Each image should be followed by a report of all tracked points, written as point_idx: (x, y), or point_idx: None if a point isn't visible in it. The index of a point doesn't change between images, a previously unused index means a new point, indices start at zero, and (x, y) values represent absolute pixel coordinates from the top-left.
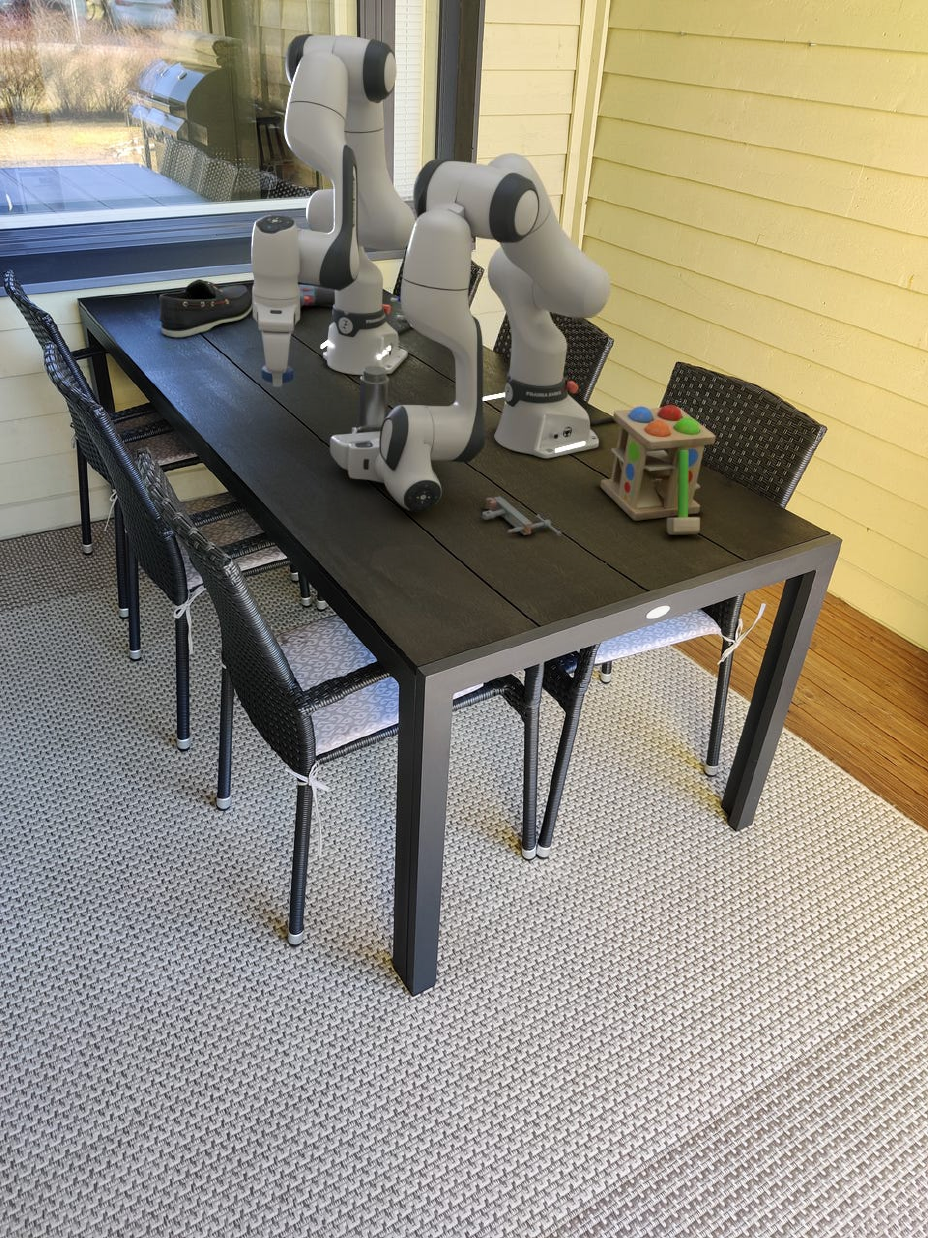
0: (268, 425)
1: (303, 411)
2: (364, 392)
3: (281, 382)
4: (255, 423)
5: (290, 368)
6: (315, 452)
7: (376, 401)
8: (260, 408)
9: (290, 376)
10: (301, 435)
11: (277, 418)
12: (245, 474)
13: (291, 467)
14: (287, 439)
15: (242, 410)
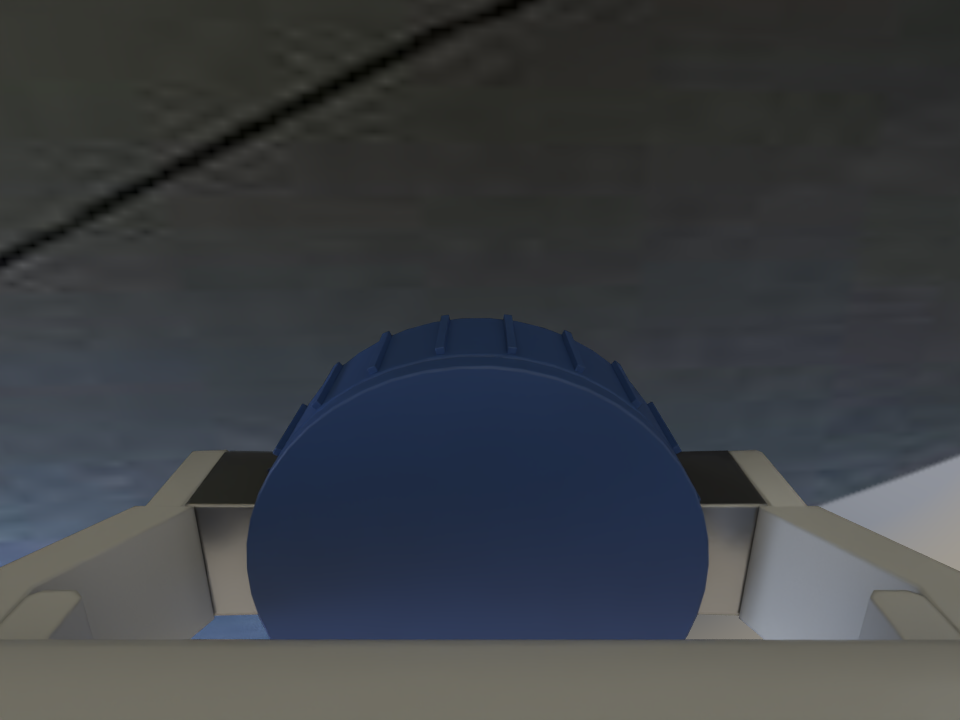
0: (307, 350)
1: (29, 129)
2: None
3: (778, 477)
4: (289, 419)
5: (445, 402)
6: (705, 51)
7: None
8: (63, 399)
9: (602, 373)
10: (437, 147)
11: (191, 300)
12: (930, 442)
13: (897, 211)
14: (503, 237)
15: (121, 488)
